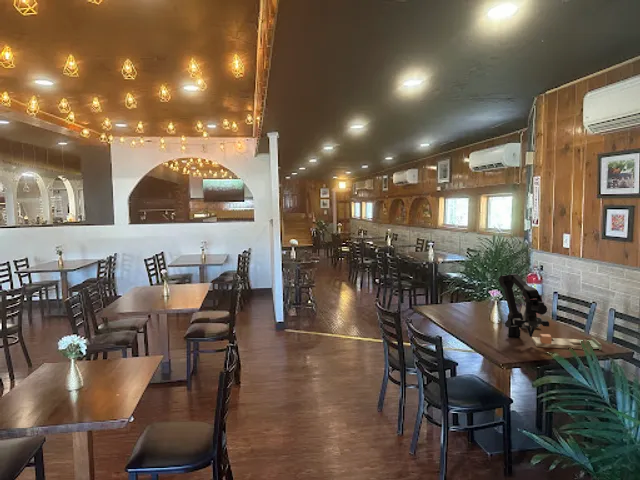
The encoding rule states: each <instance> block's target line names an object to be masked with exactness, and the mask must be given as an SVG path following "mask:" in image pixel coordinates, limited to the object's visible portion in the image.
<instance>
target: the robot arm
mask: <svg viewBox="0 0 640 480" xmlns="http://www.w3.org/2000/svg"><path fill="white" fill-rule="evenodd" d="M498 282H499V286H500V287H501V288H502V289H503V291H504V295H505V296H504V297H505V299H506V304H507V309H508V314H507V320H506V321H505V322H504V325H505V327H506V328H507V335H506V336H507V338H511V339H520V338H521V329H520V328H521V327H522V325H524V326H525V327H526V328H525V329H526V330H527V333H528V335H529V337H530V338H532V337H533V334H534V331H535V330H536V329H537V328H539V327H538V324H541V326H543V327H546V328H547V327H550V322H549V320H547V319H542V317H538V316H537V315H538V314H539V315H542V316H543V315H545V314H546V313H547V312H548V307H547V306H546V305H545V302H543V299H542V297H541V295H540V292H539V291H538V289H536V288H534V287H532V286H531V285H529V284H527V283H526V282H525V281H524V279H522V278H521V277H520V275H519V274H518V273H509V274H504V275H503V274H502V275H500V276H499V277H498ZM514 285H515V286H516V287H517V288H518V289H519V290H520V291H521V295H522V297H524V299H523V302H525V306H526V311H525V320H523V317H522V313H520V312H519V310H518V307H517V302H516V299H515V298H516V297H515V293H514V289H513V288H514ZM523 323H524V324H523Z"/></svg>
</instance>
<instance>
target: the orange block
mask: <svg viewBox="0 0 640 480" xmlns="http://www.w3.org/2000/svg"><path fill="white" fill-rule="evenodd" d="M539 337H540V341H541V343H550V344H551V342H552V338H553V337H552V335H551V334H550V333H539Z"/></svg>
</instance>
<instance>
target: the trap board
mask: <svg viewBox="0 0 640 480" xmlns="http://www.w3.org/2000/svg"><path fill="white" fill-rule="evenodd" d="M590 339H591V340H587V339H586V340H587V341H589V342H590V344H591V346H592V347H593V349H599V350H598V351H602V345H603V344H602V343H600V342H599V341H598V340H597V339H596V338H595V337H591V338H590ZM583 340H584V339H578V338H577V339H576V338H559V337H558V338H557V337H552V342H551V344H550V343H541V341H540V336H539V337H537V336H532V337H531V341H532V342H533V344H534V345H535V347H538V348H555V349H556V348H557V349H568V347H571V348H573V349H572V350H583V349H582V347H581V341H583Z"/></svg>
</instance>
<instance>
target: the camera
mask: <svg viewBox="0 0 640 480" xmlns="http://www.w3.org/2000/svg"><path fill="white" fill-rule="evenodd" d="M525 311H526V305H524V304H522V305H521V309H520V312H519V313H522V317H523V320H525ZM523 324H524V323H523ZM541 326H542V324H538V327H537V328H539V327H541ZM520 328H521V329H527V328H526V327H525V326H524V325H522V327H520Z"/></svg>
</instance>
